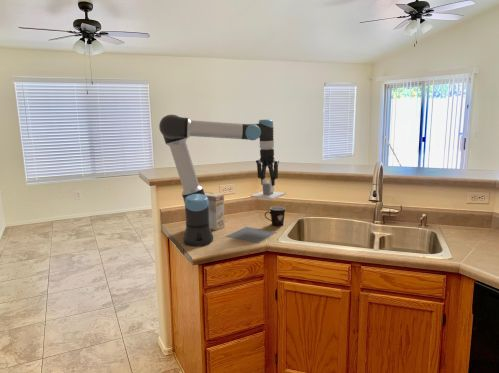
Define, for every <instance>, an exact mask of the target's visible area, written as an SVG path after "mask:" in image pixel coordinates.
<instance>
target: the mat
mask: <svg viewBox="0 0 499 373" xmlns="http://www.w3.org/2000/svg"><path fill="white" fill-rule="evenodd" d="M277 233H278V232H277V231H272V230H267V229H261V228H257V227H256V228H255V227H250V226H249V227H248V226H245V227H242V228H241V229H239V230H237V231H234V232H232V233H230V234H228V235H225V238H230V239H235V240H241V241H245V242H249V243H256V244H259V243H261V242H262V241H265V240H267V238H270V237H271V236H273V235H275V234H277Z"/></svg>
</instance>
